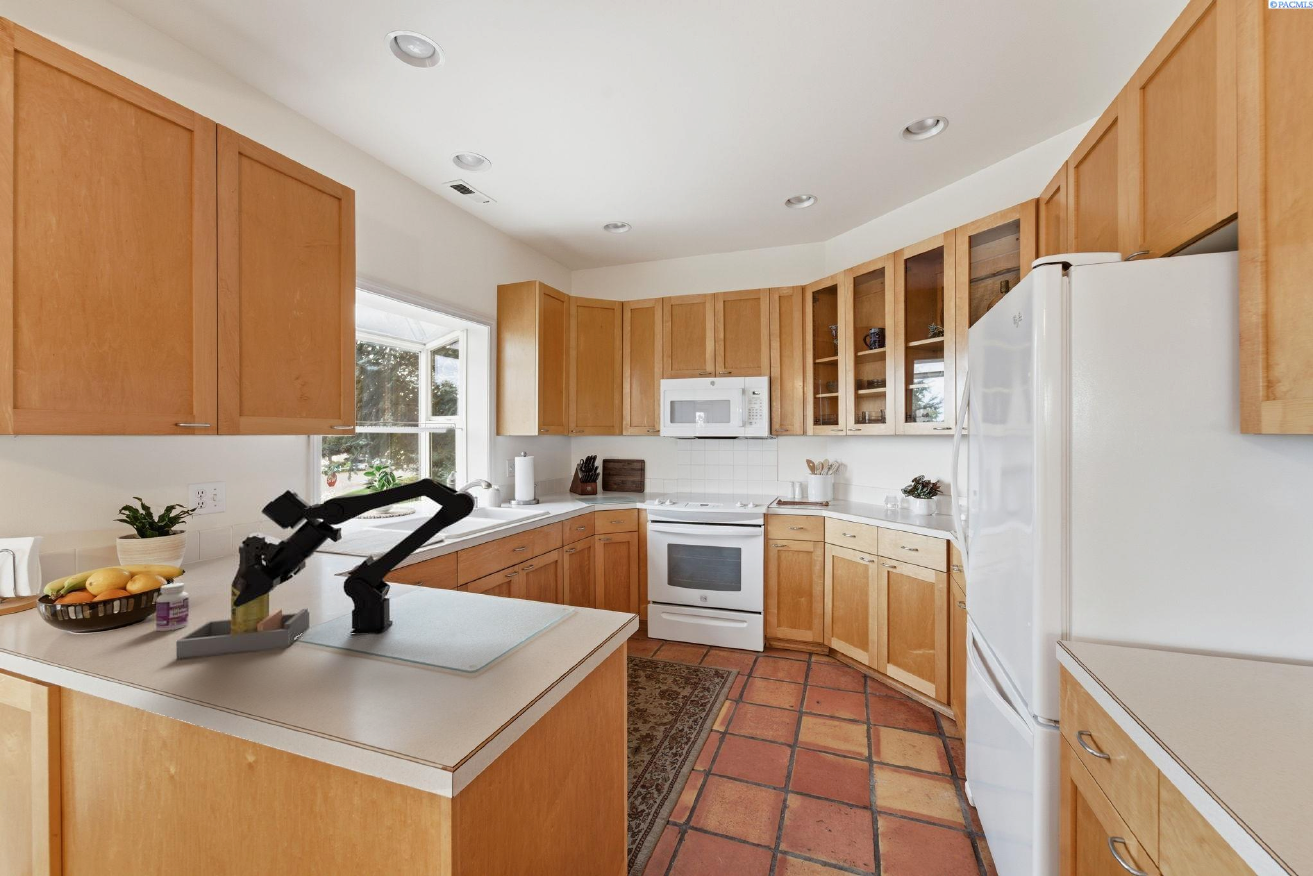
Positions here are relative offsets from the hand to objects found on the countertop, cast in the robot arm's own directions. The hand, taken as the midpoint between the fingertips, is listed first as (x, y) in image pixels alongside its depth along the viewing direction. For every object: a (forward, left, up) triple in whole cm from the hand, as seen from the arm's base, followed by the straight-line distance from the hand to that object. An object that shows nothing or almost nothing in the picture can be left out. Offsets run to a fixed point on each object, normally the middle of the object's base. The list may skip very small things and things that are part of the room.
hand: (242, 601), depth 107 cm
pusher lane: (0, 0, -9) cm, 9 cm away
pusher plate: (-5, -1, -8) cm, 9 cm away
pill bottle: (+22, -12, -9) cm, 27 cm away
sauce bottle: (-1, 0, -8) cm, 8 cm away
